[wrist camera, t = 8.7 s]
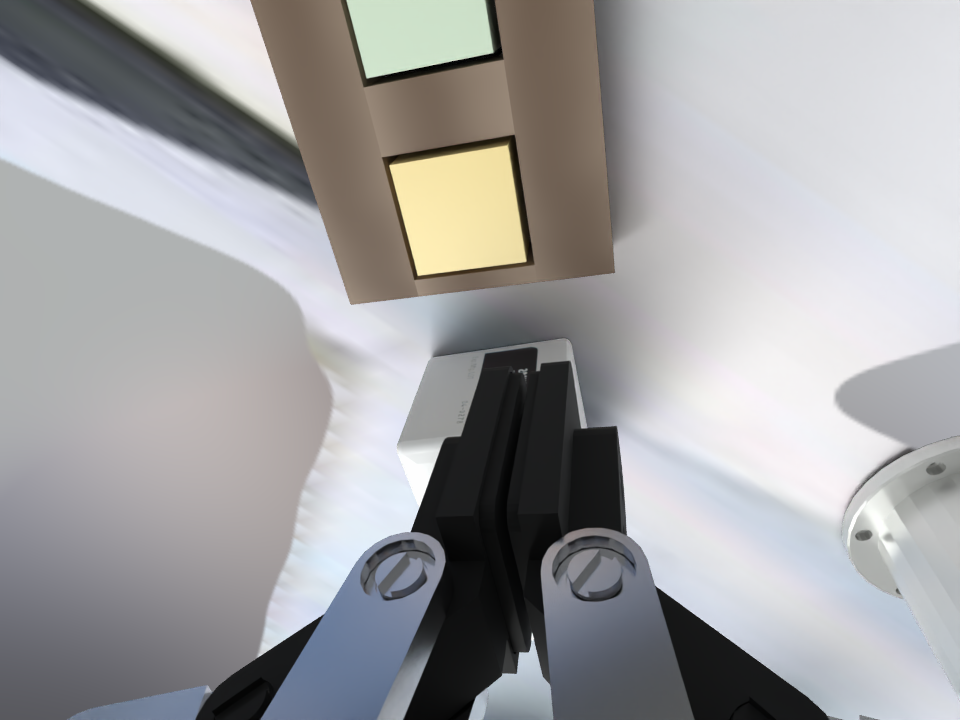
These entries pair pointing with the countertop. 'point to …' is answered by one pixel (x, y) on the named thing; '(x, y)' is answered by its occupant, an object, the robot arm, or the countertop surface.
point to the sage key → (422, 32)
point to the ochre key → (463, 205)
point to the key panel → (448, 138)
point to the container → (464, 400)
